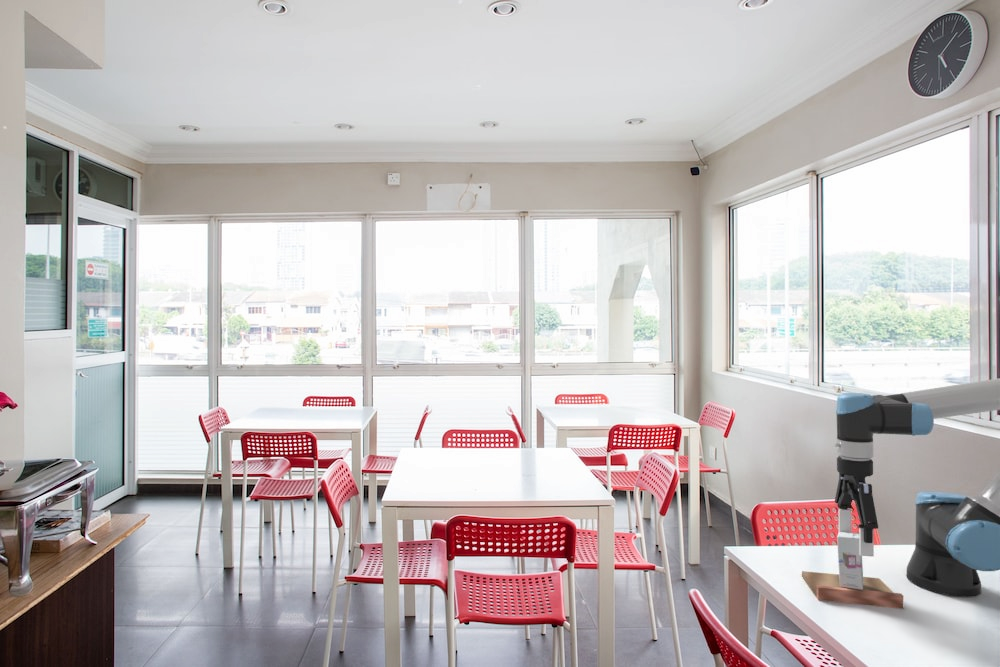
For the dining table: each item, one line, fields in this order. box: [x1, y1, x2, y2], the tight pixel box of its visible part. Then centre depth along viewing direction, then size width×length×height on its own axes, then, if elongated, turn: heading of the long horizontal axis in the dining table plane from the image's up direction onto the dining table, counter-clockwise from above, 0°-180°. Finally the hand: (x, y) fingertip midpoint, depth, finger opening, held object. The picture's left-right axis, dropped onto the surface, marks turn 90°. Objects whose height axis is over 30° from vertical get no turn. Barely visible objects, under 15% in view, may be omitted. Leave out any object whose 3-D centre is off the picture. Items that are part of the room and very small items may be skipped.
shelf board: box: [801, 570, 904, 610], centre depth 144 cm, size 18×13×3 cm
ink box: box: [836, 531, 864, 590], centre depth 143 cm, size 9×5×12 cm, turn 148°
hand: (855, 545), depth 142 cm, fingers open, 13 cm apart
